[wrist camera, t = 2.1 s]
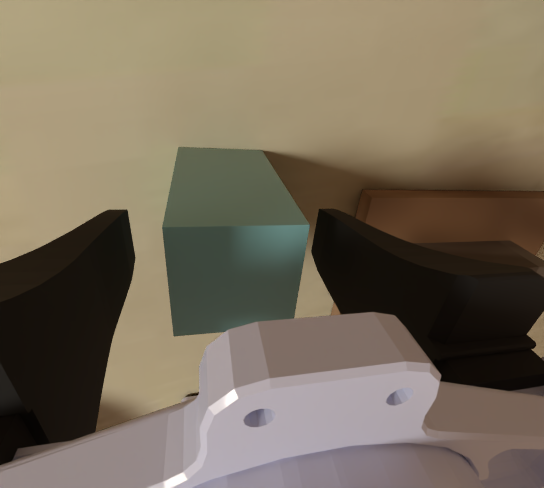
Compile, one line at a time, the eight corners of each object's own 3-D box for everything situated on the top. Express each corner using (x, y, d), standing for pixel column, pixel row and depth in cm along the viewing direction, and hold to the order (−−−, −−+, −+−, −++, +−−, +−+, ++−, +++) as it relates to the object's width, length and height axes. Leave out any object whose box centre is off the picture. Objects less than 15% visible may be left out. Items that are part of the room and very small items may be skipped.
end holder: (467, 337, 28) (505, 378, 24) (321, 353, 25) (340, 403, 21) (552, 191, 21) (624, 219, 17) (362, 189, 18) (402, 223, 14)
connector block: (256, 221, 18) (292, 325, 11) (183, 222, 17) (173, 336, 10) (261, 150, 16) (309, 224, 9) (178, 146, 15) (162, 227, 8)
